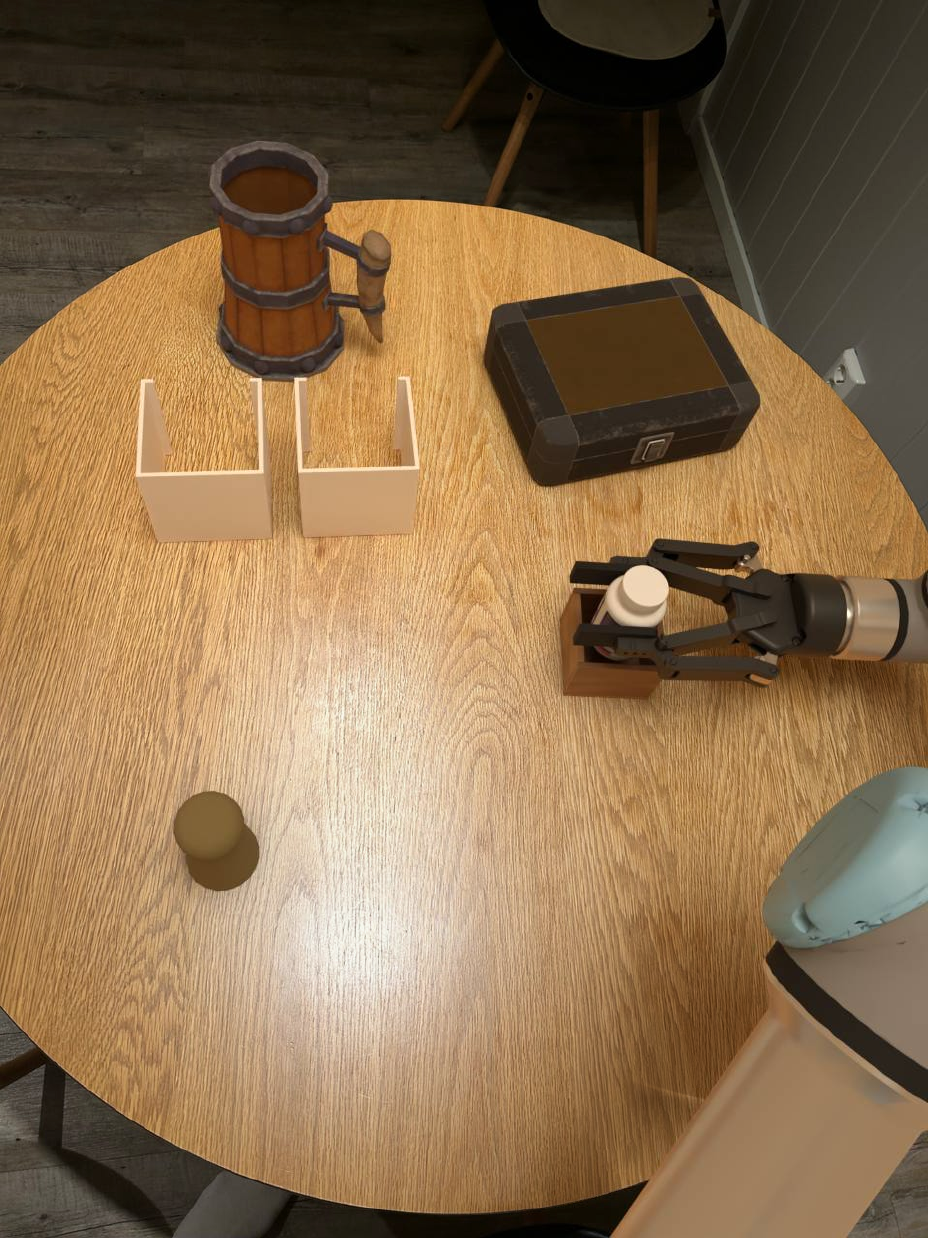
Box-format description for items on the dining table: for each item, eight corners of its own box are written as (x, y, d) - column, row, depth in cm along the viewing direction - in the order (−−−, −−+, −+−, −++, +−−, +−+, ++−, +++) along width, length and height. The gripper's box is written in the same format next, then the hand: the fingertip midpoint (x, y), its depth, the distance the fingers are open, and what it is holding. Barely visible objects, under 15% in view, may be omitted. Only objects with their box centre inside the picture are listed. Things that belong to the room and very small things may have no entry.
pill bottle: (651, 659, 86) (684, 610, 78) (595, 665, 85) (622, 617, 77) (636, 607, 89) (668, 554, 80) (582, 613, 88) (607, 560, 79)
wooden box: (647, 699, 90) (668, 672, 84) (563, 695, 89) (578, 667, 83) (640, 623, 94) (659, 592, 88) (559, 618, 93) (573, 587, 87)
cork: (172, 874, 78) (148, 841, 68) (208, 808, 80) (189, 767, 71) (238, 903, 77) (223, 874, 67) (272, 836, 80) (262, 799, 70)
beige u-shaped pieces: (157, 542, 92) (135, 476, 82) (161, 451, 97) (140, 379, 87) (412, 533, 95) (419, 469, 86) (403, 446, 100) (409, 376, 91)
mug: (402, 315, 109) (413, 162, 91) (368, 408, 102) (373, 263, 84) (241, 273, 109) (221, 113, 91) (196, 363, 102) (166, 209, 85)
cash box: (537, 496, 99) (551, 451, 93) (478, 353, 108) (487, 302, 101) (744, 453, 105) (771, 408, 98) (672, 321, 113) (693, 271, 107)
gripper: (829, 729, 83) (570, 718, 80) (795, 550, 91) (560, 535, 89) (871, 696, 76) (590, 683, 74) (831, 506, 84) (578, 489, 82)
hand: (575, 602), depth 81 cm, fingers closed on pill bottle, 5 cm apart
